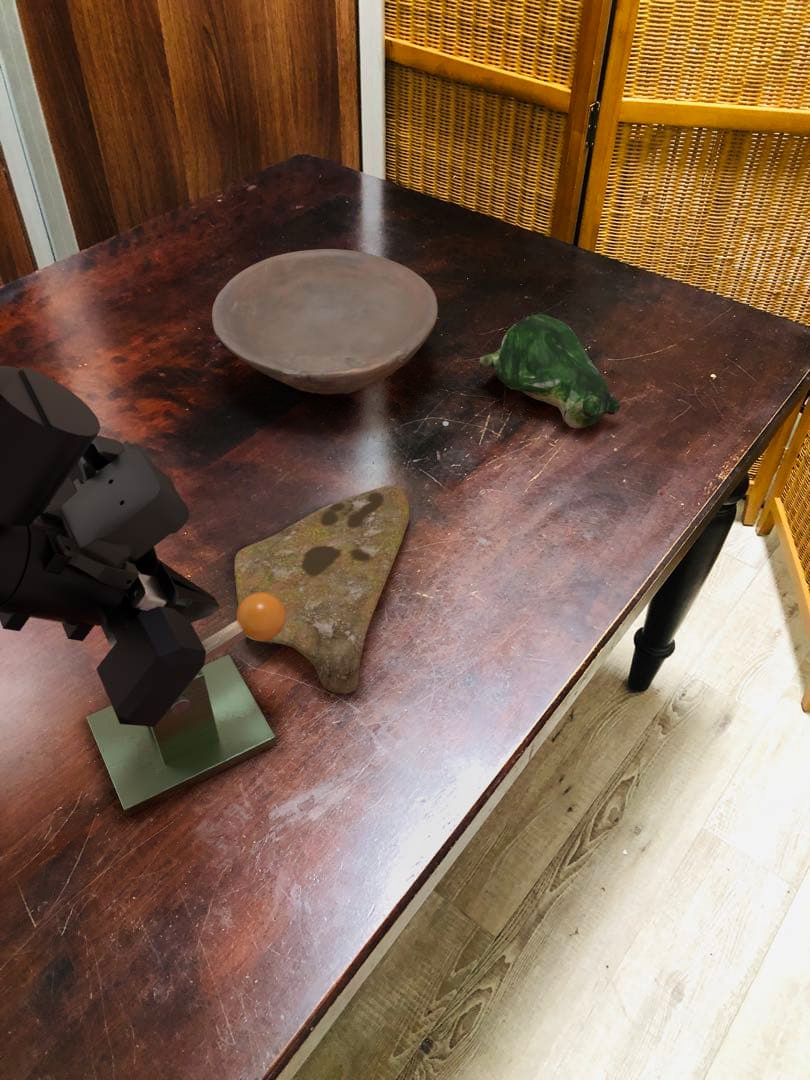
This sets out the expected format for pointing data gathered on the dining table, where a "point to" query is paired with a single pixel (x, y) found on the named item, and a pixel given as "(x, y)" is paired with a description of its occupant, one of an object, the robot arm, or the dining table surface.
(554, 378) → the figurine
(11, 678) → the dining table surface
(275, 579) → the decorative stone
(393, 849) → the dining table surface
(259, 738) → the switch bracket
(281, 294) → the bowl
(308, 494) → the dining table surface
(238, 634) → the switch lever
